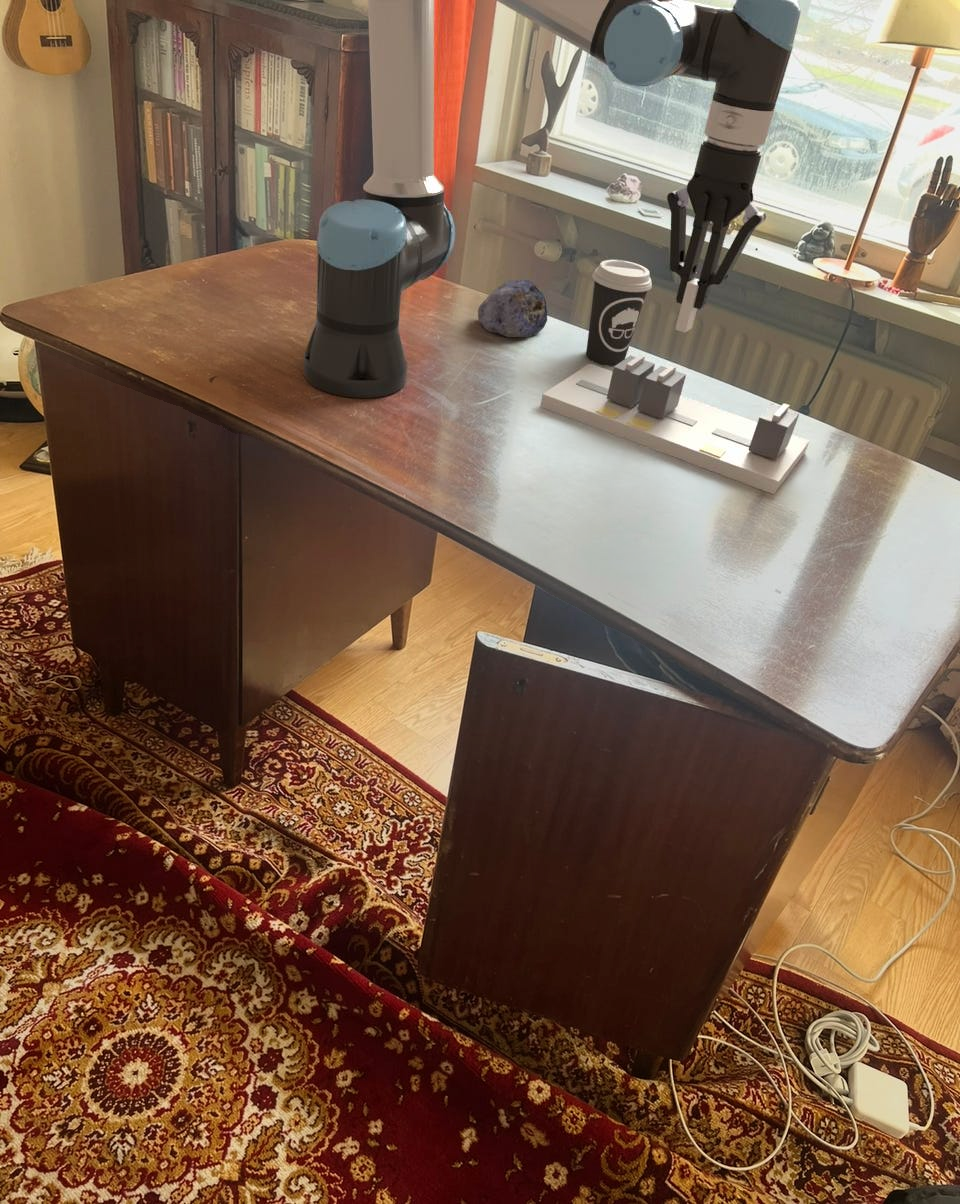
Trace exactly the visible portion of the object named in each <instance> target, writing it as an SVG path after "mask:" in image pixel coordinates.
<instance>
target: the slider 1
mask: <svg viewBox="0 0 960 1204" xmlns="http://www.w3.org/2000/svg"><path fill="white" fill-rule="evenodd" d="M645 358H646V356H645V355H643V354H639V355H637V356H633V355H629V356H628V357H627V356H626V357H625V359H624V360H623V361H622V362H620V363H619V364H617V365H616V366H613V368H612V372H613V373H612V377H611V381H610V386H609V390H608V394H607V399H608V400H611V401H614V402H617V403H619V404H622V405H625V406H628V407H630V408H631V407H633V406H634V405H635V404H637V403H638V402H639V401H640V397H641V393H642V389H643V385H644V381H645V378H646V377H647V376H648V375H650V374H651V373H652V372H654V371H655V365H656V364H655V362H654V363H653V362H650V361H648V360H645Z"/></svg>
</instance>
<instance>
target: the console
mask: <svg viewBox="0 0 960 1204" xmlns="http://www.w3.org/2000/svg"><path fill="white" fill-rule="evenodd" d="M612 373H613V370H609V369H607V368H604V367H600V366H599V365H594V364H592V363H588V364H587V365H585V366H584V367H582V368H580V369H579V370H577V371H576V372H574V373H573V374H571V375H569V376H568V377H567V378H565V379H563V380H562V381H560V382H559V383H557V384H556V385H554V386H552V387H551V388H549V389H548V390H546V391H545V392H543V393H542V395H541V401H540V407H541V408H543V409H545V410H548V411H550V412H554V413H557V414H559V415H562V416H565V417H568V418H570V419H573V420H576V421H578V422H581V423H583V424H586V425H589V426H590V427H594V428H597V429H599V430H602V431H605V432H607V433H610V434H613V435H615V436H618V437H620V438H623V439H626V440H628V441H631V442H634V443H636V444H639V445H641V446H644V447H647V448H650V449H651V450H655V451H658V452H661V453H663V454H665V455H667V456H672V458H673V457H674V458H676V459H679V460H682V461H684V462H687V463H689V464H692V465H695V466H697V467H700V468H702V469H704V470H708V471H711V472H713V473H716V474H718V475H722V476H724V477H725V478H726V477H727V478H729V479H732V480H735V481H737V482H740V483H743V484H745V485H747V486H748V485H749V486H750V487H753V488H756V489H758V490H761V491H763V492H766V493H770V494H771V495H775V493H776V492H777V491H778V490H779V489H780V487H781V486H782V484H783V483H784V482H785V480H786V479H787V478H788V476H789V475H790V474H791V472H793V470H794V468H795V467H797V464H798V463H799V462H800V461H801V459H802V458H803V457H804V455H805V454H806V451H807V449H808V446H809V443H810V440H809V439H806V438H803V437H801V436H797V435H794V434H792V436H791V438H790V441H789V444H788V446H787V447H786V448H785V450H784V451H783V452H782V453H781V455H780V456H779V457H778V458H777V459H776V460H774V459H771V458H768V457H765V456H763V455H760V454H757V453H754V452H752V451H749V450H748V449H749V446H750V444H751V441H752V438H753V435H754V432H755V429H756V426H757V423H758V421H754V420H753V419H749V418H746V417H744V416H740V415H737V414H734V413H732V412H729V411H725V410H723V409H720V408H717V407H714V406H713V405H712V406H711V405H709V404H706V403H703V402H701V401H697V400H694V399H691V398H689V397H686V396H683V395H682V394H681V395H680V399H679V402H678V406H677V407H676V408H675V409H674V410H672V411H671V412H670V413H669V414H668V415H667V416H665V417H664V418H663V419H661V418H658V417H655V416H652V415H650V414H647V413H644V412H641V411H639V410H637V409H638V405H639V402H638V403H637V404H635V405H634V406H633V407H631V408H630V407H628V406H625V405H622V404H619V403H617V402H614V401H611V400H608V399H607V394H608V390H609V386H610V381H611V377H612Z"/></svg>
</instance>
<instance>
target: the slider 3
mask: <svg viewBox="0 0 960 1204" xmlns="http://www.w3.org/2000/svg"><path fill="white" fill-rule="evenodd" d="M789 408H790V404H787V403H782V405H781V406H780V405H777V404H774V403H771V404H770V405H769V407H767V408H766V409H765V411H764V412H763V413H762V414H761V415H760V416H759V418H758V420H757V422H758V423H757V426H756V429H755V432H754V435H753V438H752V441H751V444H750V446H749V449H748V450H749V451H752V452H754V453H757V454H760V455H763V456H765V457H768V458H771V459H774V460H776V459H777V458H778V457H779V456H780V455H781V453H782V452H783V451H784V450H785V448H786V447H787V446H788V444H789V441H790V438H791V436H792V435H793V432H794V430H795V427H796V424H797V422H798V418H799V416H800V412H797V411H794V410H792V409H789Z"/></svg>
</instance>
